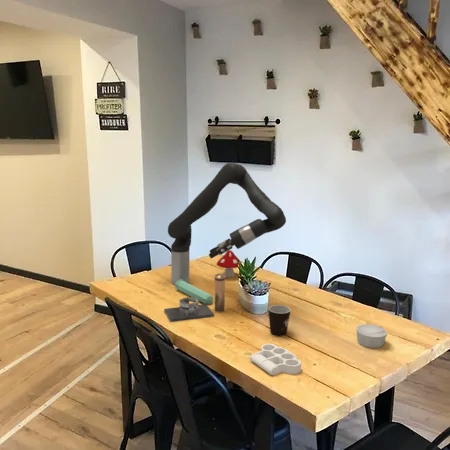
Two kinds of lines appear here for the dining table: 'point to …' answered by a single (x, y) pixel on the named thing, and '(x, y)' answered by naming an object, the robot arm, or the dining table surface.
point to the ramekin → (371, 335)
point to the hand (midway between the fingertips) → (210, 254)
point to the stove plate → (181, 317)
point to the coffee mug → (279, 319)
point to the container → (194, 292)
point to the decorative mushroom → (228, 263)
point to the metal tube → (219, 292)
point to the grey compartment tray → (276, 360)
